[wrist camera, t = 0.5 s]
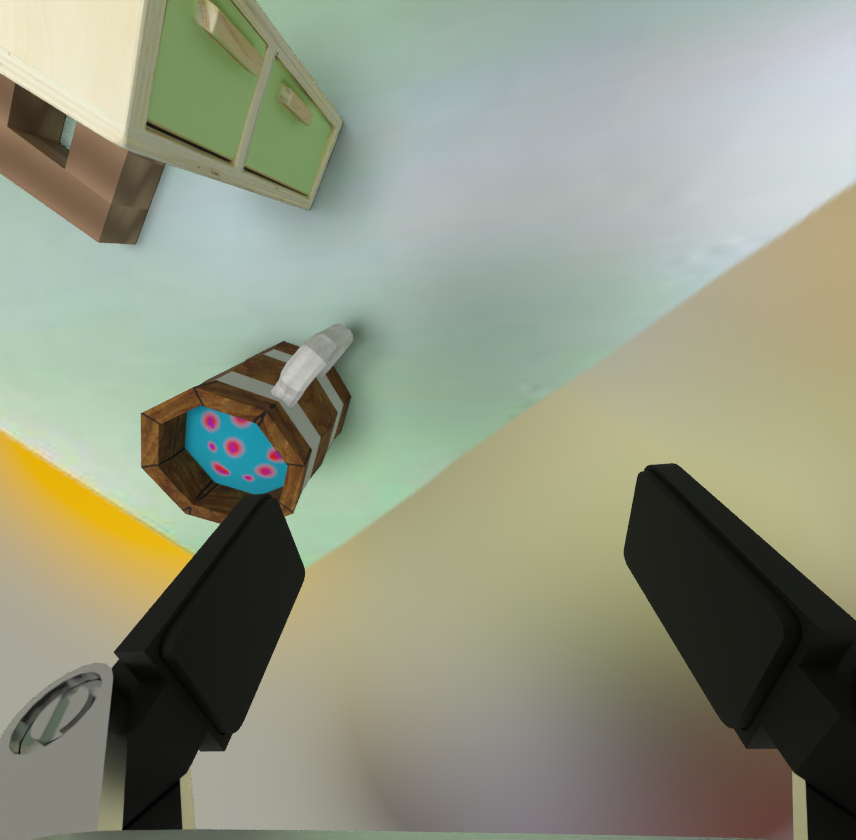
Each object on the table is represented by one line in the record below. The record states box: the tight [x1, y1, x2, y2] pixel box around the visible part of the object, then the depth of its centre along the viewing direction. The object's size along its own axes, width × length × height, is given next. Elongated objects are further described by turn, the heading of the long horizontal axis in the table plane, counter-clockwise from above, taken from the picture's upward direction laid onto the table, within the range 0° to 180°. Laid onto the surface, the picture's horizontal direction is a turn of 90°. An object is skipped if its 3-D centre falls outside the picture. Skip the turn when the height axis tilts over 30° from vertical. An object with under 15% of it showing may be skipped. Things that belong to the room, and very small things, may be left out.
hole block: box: [0, 73, 165, 244], centre depth 28 cm, size 12×12×4 cm
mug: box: [141, 324, 353, 524], centre depth 32 cm, size 20×14×15 cm
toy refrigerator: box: [0, 0, 343, 210], centre depth 20 cm, size 8×7×21 cm
